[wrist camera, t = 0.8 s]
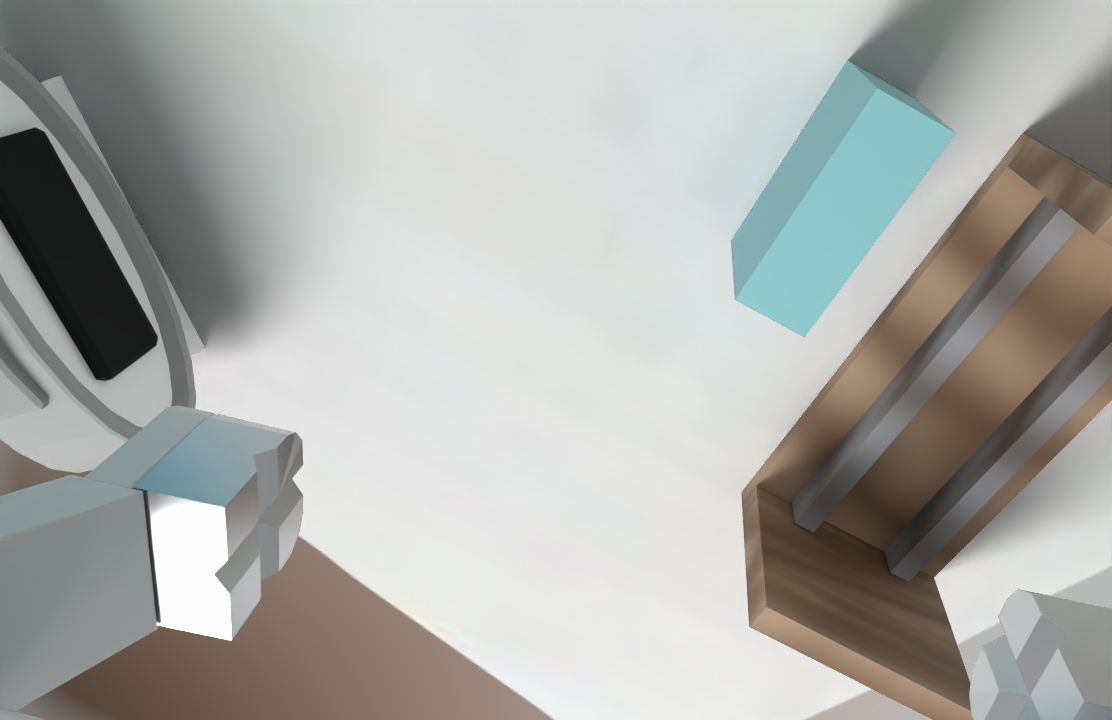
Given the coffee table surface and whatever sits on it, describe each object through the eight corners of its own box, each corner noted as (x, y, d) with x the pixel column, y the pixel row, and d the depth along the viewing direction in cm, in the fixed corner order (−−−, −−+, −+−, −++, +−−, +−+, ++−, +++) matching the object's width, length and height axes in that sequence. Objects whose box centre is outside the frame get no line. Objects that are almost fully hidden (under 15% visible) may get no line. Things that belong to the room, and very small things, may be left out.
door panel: (847, 60, 39) (877, 88, 32) (912, 96, 40) (955, 133, 32) (731, 240, 44) (734, 299, 37) (789, 272, 44) (804, 337, 37)
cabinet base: (1023, 132, 39) (1125, 199, 30) (1237, 255, 40) (1404, 358, 31) (741, 493, 51) (749, 626, 41) (913, 582, 51) (961, 734, 42)
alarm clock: (241, 389, 53) (116, 513, 42) (161, 409, 55) (19, 533, 44) (41, 7, 44) (-187, 34, 33) (-48, 44, 46) (-293, 81, 35)
